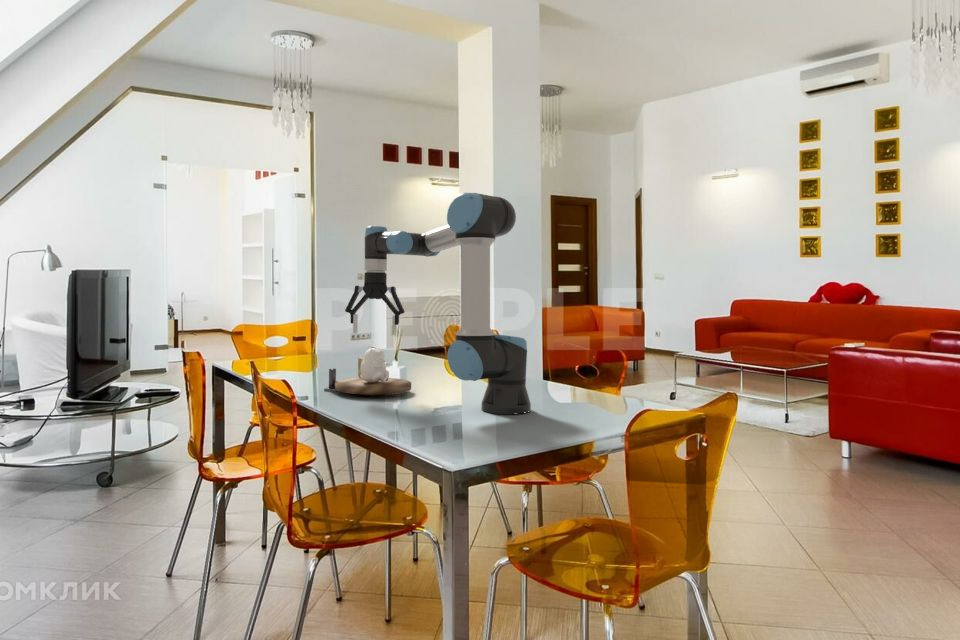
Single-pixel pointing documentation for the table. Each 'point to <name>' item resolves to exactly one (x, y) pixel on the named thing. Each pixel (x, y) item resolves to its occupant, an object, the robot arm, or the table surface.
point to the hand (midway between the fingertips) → (374, 333)
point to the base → (333, 379)
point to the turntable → (372, 385)
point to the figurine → (374, 366)
